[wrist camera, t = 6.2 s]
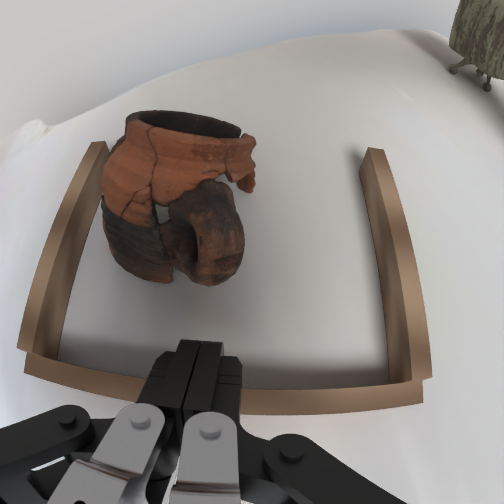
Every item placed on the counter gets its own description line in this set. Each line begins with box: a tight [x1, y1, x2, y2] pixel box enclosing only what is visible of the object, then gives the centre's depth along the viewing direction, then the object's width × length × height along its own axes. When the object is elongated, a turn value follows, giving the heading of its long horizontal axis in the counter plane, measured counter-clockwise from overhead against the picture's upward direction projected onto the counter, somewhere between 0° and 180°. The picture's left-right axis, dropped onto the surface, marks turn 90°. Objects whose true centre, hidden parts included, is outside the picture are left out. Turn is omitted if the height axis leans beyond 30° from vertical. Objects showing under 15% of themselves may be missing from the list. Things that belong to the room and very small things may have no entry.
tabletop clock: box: [448, 0, 504, 92], centre depth 24 cm, size 14×9×25 cm, turn 114°
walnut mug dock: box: [17, 141, 432, 415], centre depth 16 cm, size 16×21×2 cm
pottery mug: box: [100, 110, 256, 287], centre depth 17 cm, size 12×10×8 cm
